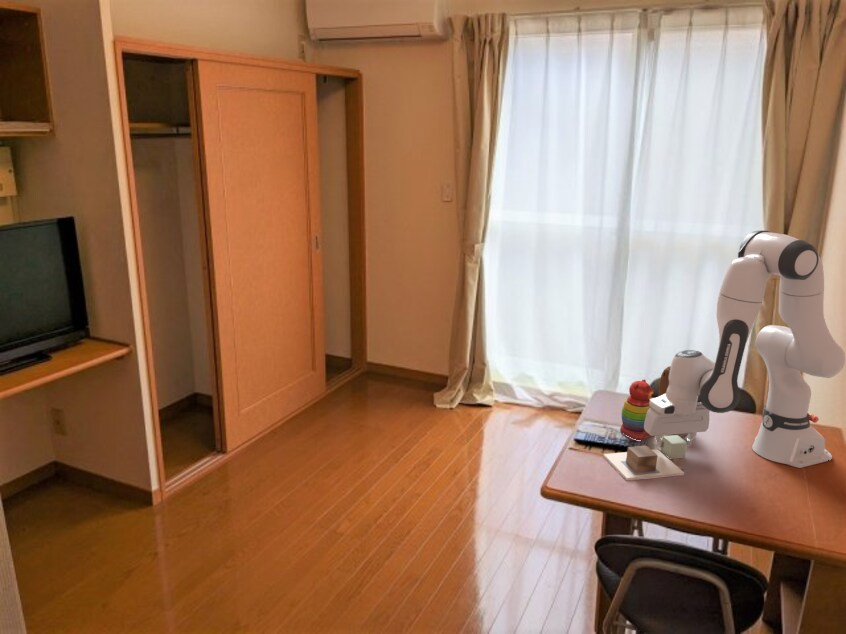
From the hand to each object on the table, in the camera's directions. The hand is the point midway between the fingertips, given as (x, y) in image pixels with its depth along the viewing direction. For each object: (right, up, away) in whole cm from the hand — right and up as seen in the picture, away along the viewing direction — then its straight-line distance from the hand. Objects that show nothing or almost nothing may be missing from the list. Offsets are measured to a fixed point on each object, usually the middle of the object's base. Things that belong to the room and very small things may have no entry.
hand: (673, 445), depth 201 cm
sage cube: (0, -3, +2) cm, 4 cm away
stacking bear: (-7, +1, +15) cm, 17 cm away
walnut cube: (-13, -5, -8) cm, 16 cm away
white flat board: (-11, -5, -6) cm, 13 cm away
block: (+7, +3, +22) cm, 23 cm away
